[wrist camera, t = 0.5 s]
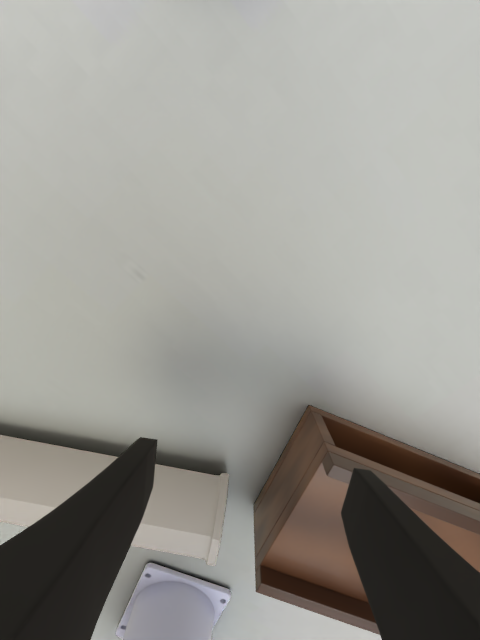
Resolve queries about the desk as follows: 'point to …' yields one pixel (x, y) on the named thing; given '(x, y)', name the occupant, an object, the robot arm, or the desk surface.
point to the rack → (326, 504)
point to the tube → (82, 466)
